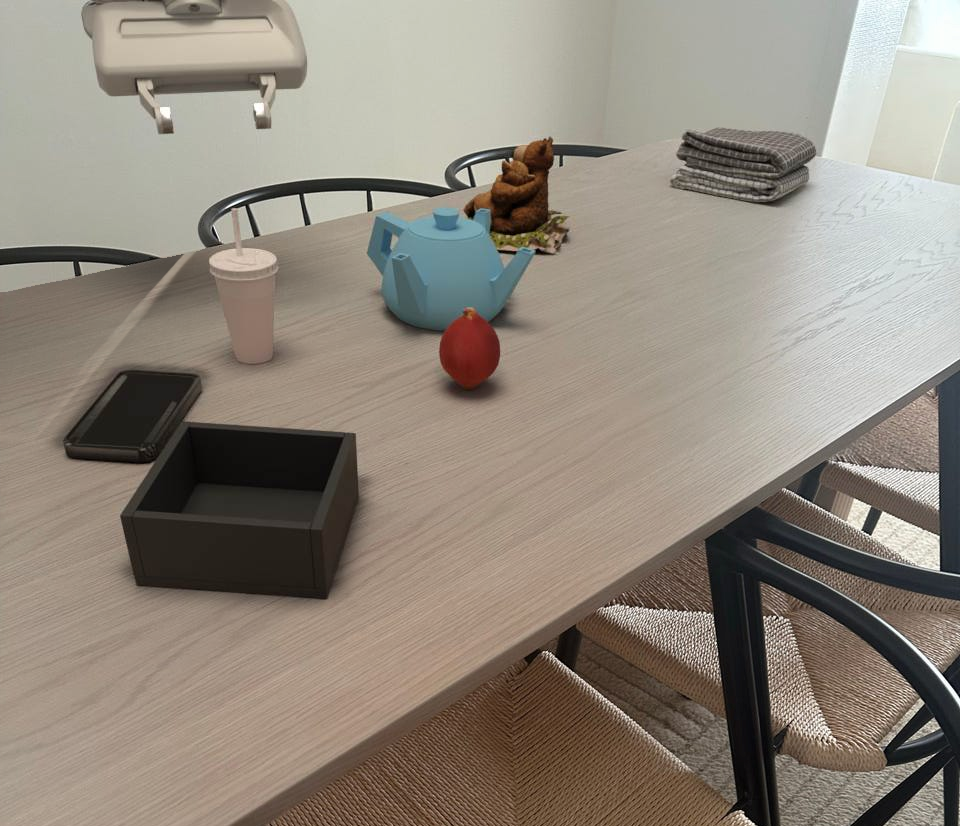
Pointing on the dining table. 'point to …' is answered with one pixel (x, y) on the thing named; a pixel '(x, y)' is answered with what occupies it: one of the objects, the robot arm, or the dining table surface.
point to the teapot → (443, 267)
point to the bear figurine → (522, 202)
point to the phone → (133, 416)
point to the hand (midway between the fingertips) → (215, 128)
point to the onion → (469, 349)
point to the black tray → (244, 510)
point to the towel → (743, 163)
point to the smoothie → (247, 297)
